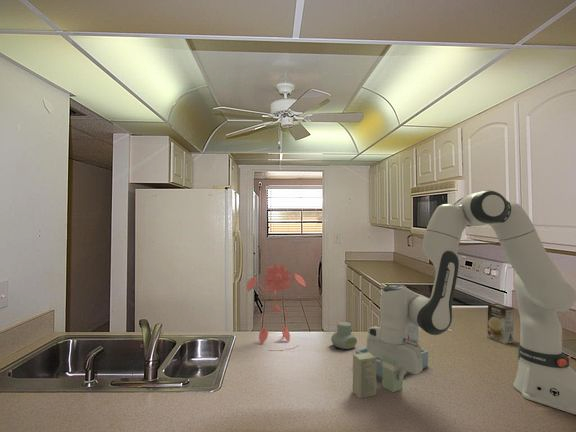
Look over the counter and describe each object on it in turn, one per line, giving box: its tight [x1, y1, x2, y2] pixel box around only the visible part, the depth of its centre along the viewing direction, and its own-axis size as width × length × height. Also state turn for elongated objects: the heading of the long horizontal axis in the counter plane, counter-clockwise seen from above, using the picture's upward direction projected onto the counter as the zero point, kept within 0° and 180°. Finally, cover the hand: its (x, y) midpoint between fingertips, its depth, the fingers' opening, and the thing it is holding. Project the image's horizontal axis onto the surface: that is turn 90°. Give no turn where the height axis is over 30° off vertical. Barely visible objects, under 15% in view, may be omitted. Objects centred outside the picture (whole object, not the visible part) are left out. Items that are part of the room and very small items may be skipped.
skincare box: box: [352, 352, 377, 399], centre depth 109 cm, size 6×4×12 cm
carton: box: [381, 356, 404, 393], centre depth 113 cm, size 5×5×10 cm
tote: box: [354, 347, 429, 381], centre depth 129 cm, size 15×24×6 cm, turn 124°
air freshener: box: [330, 321, 358, 350], centre depth 148 cm, size 11×8×10 cm
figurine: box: [246, 263, 307, 352], centre depth 149 cm, size 15×26×35 cm, turn 103°
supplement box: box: [408, 323, 420, 345], centre depth 154 cm, size 6×6×12 cm
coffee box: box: [486, 302, 515, 345], centre depth 161 cm, size 9×6×16 cm
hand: (392, 376), depth 113 cm, fingers closed on carton, 4 cm apart
